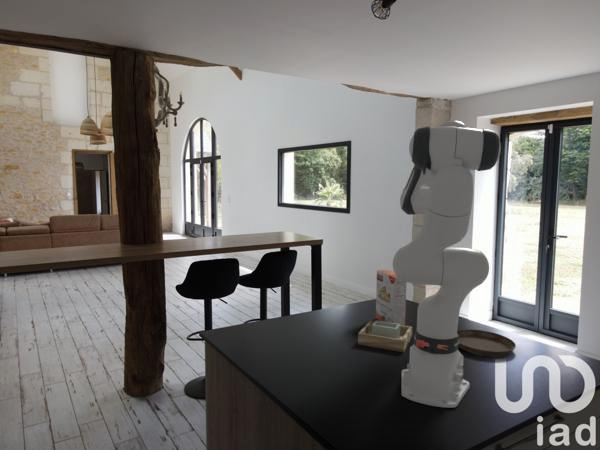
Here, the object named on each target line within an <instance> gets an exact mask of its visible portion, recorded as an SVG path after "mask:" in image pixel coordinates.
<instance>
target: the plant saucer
mask: <svg viewBox="0 0 600 450" xmlns="http://www.w3.org/2000/svg"><path fill="white" fill-rule="evenodd" d="M457 334H458V335H459V345H458V348H460V349H461V350H463V351H464V352H467V353H470V354H472V355H477V356H481V357H490V358H497V357H504V356H507V355H509V354H511V353H512V352H514V350H515V349H516V348H517V347H516V343H515V341H514V340H512V339H511V338H509V337H508V336H507V337H506V336H504V335H501V334H499V333H495V332H492V331H487V330H482V329H470V328H469V329H466V328H465V329H457Z"/></svg>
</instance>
